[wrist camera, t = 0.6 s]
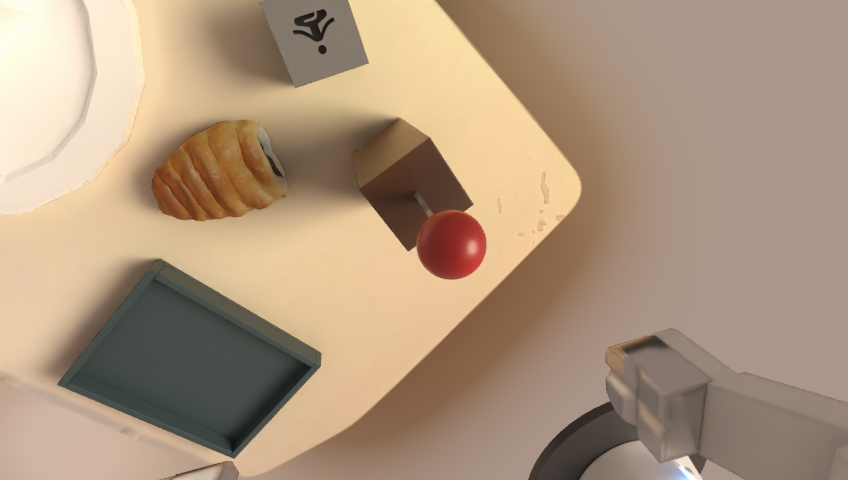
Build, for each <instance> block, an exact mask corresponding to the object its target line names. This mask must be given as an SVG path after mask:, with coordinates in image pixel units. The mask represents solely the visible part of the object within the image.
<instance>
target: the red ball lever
mask: <svg viewBox="0 0 848 480" xmlns="http://www.w3.org/2000/svg"><path fill="white" fill-rule="evenodd" d="M351 157H352V161H353V165H354V169H355V174H356V178H357V182H358V187H359V190H360V191H361V193H362V194H363V195H364V197H365V198H366V199H367V200H368V202H369V203H370V204H371V205H372V207H373V208H374V209H375V210H376V212H377V213H378V214H379V215H380V217H381V218H382V219H383V220H384V222H385V223H386V224H387V226H388V227H389V228H390V229H391V231H392V232H393V233H394V234H395V236H396V237H397V238H398V239H399V241H400V242H401V243H402V244H403V246H404V247H405V248H406V250H407V251H410V250H411V249H412V248H414V247H415V246H417V253H418V256H419V259H420V261H421V263H422V264H423V266H424V267H425V268H426V269H427V270H428V271H429V272H430V273H432V274H433V275H435V276H437V277H440V278H443V279H451V280H454V279H460V278H463V277H466V276H468V275H470V274H471V273H473V272H474V271H475V270H476V269H477V268H478V267H479V266H480V264H481V263H482V261H483V259H484V256H485V253H486V237H485V233H484V231H483V229H482V227H481V225H480V224H479V223H478V221H477V220H476V219H475V218H473V217H472V216H471V215H469V214H467V213H465V212H464V211H465V210H467V209H468V208H470V207H471V206H472V205H473V202H472V201H471V199H470V198H469V196H468V195H467V193H466V192H465V190H464V189H463V187H462V186H461V184H460V183H459V181H458V180H457V178H456V176H455V175H454V173H453V172H452V170H451V169H450V167H449V166H448V164H447V163H446V161H445V160H444V158H443V157H442V155H441V154H440V152H439V151H438V149H437V147H436V146H435V144H434V143H433V141H432V140H431V138H430V137H428V136H427V135H425V134H424V133H422V132H421V131H419V130H418V129H416V128H415V127H413V126H412V125H410V124H409V123H407V122H406V121H404V120H403V119H401V118H400V119H398V120H397V121H396V122H394V123H393V124H391V125H390V126H389V127H387V128H386V129H385V130H383V131H382V132H381V133H379V134H378V135H377V136H375V137H374V138H373V139H371V140H370V141H369V142H367V143H366V144H364V145H363V146H362V147H360V148H359V149H358V150H356V151H355V152H354V153H352V154H351Z"/></svg>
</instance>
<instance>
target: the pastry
mask: <svg viewBox="0 0 848 480" xmlns="http://www.w3.org/2000/svg"><path fill="white" fill-rule="evenodd" d="M289 189H290V186H289V184H288V182H287V180H286V178H285V171H284V168H283V167H282V164H281V163H280V162H279V160H278V159H277V157H276V155H275V154H274V153H273V151H272V150H271V142H270V139H269V137H268V135H267V133H266V131H265V130H264V129H263V128H262V127H261V126H260V125H259V124H257V123H256V122H253V121H249V120H241V121H221V122H218V123H216V124H215V125H213V126H212V127H211V128H209V129H206V130H204V131H202V132H201V133H198V134H195V135H193V136H191V137H190V138H189V139H188V140H187V141H186V142H185V143H183V144H182V145H181V146H180V147H179V148H178V149H177V150H176V151H175V152H174V153H172V154H171V155H170V157H169V158H168V159H167V160H166V161H165V162H164V163H163V164H162V165H161V166H160V167H159V168H157V169H156V170H155V172H154V175H153V178H152V190H153V193H154V196H155V198H156V200H157V201H158V204H159V208H160V210H161V211H162V212H163V213H164V214H166V215H170V216H173V217H175V218H177V219H181V220H190V219H194V220H196V221H205V220H213V219H222V218H225V217H241V216H243V215H244V214H246V213H247V212H248V211H252V210H254V209H263V208H266V207H267V206H268V205H270V204H271V203H272V202H273V201H275V200H277V199H279V198H282V197H286V196H287V195H288V193H289Z"/></svg>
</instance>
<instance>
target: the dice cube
mask: <svg viewBox="0 0 848 480" xmlns="http://www.w3.org/2000/svg"><path fill="white" fill-rule="evenodd" d="M260 5H261V7H262V9H263V12H264V14H265V17H266V19H267V22H268V24H269V26H270V29H271V31H272V34H273V36H274V38H275V41H276V43H277V46H278V48H279V51H280V53H281V55H282V58H283V60H284V63H285V65H286V67H287V70H288V72H289V75H290V77H291V80H292V82H293V84H294V87H295V88H297V87H300V86H303V85H306V84H309V83H312V82H315V81H318V80H321V79H324V78H327V77H330V76H333V75H336V74H339V73H341V72H344V71H347V70H350V69H353V68H356V67H359V66H362V65H365V64H368V63H369V62H368V59H367V56H366V53H365V50H364V47H363V44H362V41H361V38H360V35H359V32H358V29H357V26H356V23H355V20H354V17H353V14H352V11H351V8H350V5H349V2H348V0H264V1H261V2H260Z"/></svg>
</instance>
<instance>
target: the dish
mask: <svg viewBox="0 0 848 480" xmlns="http://www.w3.org/2000/svg"><path fill="white" fill-rule="evenodd" d="M144 85H145V79H144V70H143V61H142V52H141V43H140V33H139V24H138V15H137V12H136V10H135V8H134V5H133V3H132V1H131V0H0V216H4V215H14V214H24V213H27V212H29V211H31V210H33V209H36V208H38V207H40V206H42V205H44V204H46V203H48V202H51V201H53V200H55V199H57V198H59V197H61V196H64V195H66V194H68V193H70V192H72V191H74V190H76V189H79V188H81V187H83V186H85V185H87V184H89V183H91V182H92V181H93V180H94V179H95V178H96V177H97V176H98V174H99V173H100V172H101V171H102V170H103V169H104V168H105V166H106V165H107V164H108V163H109V162H110V161H111V160H112V159H113V157H114V156H115V155H116V154H117V153H118V152H119V151H120V149H121V148H122V147H123V146H124V145H125V144H126V143H127V142H128V140H129V137H130V133H131V130H132V126H133V123H134V119H135V116H136V113H137V109H138V106H139V102H140V99H141V95H142V92H143V88H144Z"/></svg>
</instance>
